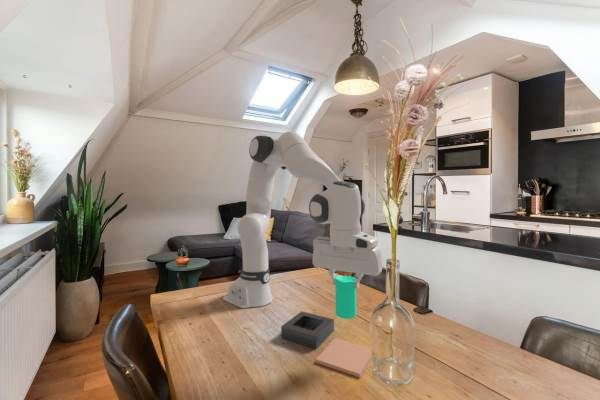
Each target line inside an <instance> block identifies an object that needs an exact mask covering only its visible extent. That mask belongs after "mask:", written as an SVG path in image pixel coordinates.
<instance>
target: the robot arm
mask: <svg viewBox="0 0 600 400" xmlns="http://www.w3.org/2000/svg"><path fill="white" fill-rule="evenodd" d="M249 144H250V145H249V148H248V151H249V156H250V158H251V160H252V164H251V167H250V171H249V174H248V181H247V188H246V194H245V195H246V196H245V198H246V212H245V215H243V216H242V217H241V218H240V219H239V222H238V224H237V232H238V234H239V240H240V245H241V252H242V268H241V269H239V270H238V272H237V273H238V274H240V275H239V277H238V278H237V279H236V280H234V281H233V282H232V283H231V284H230V285H229V287H228V293H227V294H225V295H224V296H223V298H222V300H223V301H225V302H227V303H229V304H232V305H233V306H236V307H238V308H241V309H248V308H257V307H263V306H266V305H268V304H270V303H272V301H274V300H273V299H274V298H273V295H272V290H271V285H270V273H271V272H270V267H269V249H268V245H267V236H266V232H267V231H268V230H269V228H270V223H271V215H272V214H271V213H272V212H271V211H272V200H273V193H274V187H275V180H276V179H275V178H276V173H277V170H278V169H279V168H280V169H281V170H287V172H289V174H290V175H292V176H293V177H295V178H297V179H302V180H308V181H312V182H316V183H320V184H321V185H323V186H325V188H326V190H324V191H322V192H319V193H316V194H314V195H313V196H312V197H311V199H310V202H309V203H308V204H309V205H308V212H309V216H310V218H311V219H312V220H313V221H314V222H315V223H317V224H321V225H327V224H330V225H329V236H322V235H317V236H316V237H315V238H314V239H313V241H312V242H313V243H312V245H313V246H312V247H313V250H312V251H313V252H312V265H313V266H314V268H320V269H326V270H328V273H329V274H328V275H329V276H330V277H331V279H332V285H335V278H336V277H337V276H338V275H337V274H336V273H335V272H337V271H340V272H346V273H347V272H348V273H354V274H355V278H356V281H355V282H354V281H353V282H354V288H356V290H357V289H359V288H360V281H361V280H362V279H363V277H364V275H367V276H368V275H369V276H374V277H377V276H378V275H380V274H381V273H382V271H383V259H382V253H381V250H380V248H379V247H378V244H379V238H377V236H373V235H370V234H369V233H366V232H363V231H362V226H361V221H360V220H361V218H362V217H363V215H364V213H365V207H366V205H365V201H364V198H363V197H362V195H361V191H360V188H359V186H358V184H356V183H355V182H351V181H344V179H343V178H342V177H341V176H340V175H339V174H338V172H337V171H336V170H335V169H334V167H332V166H331V165H329V163H327V162H326V161H324V160H323V159H321V158H320V157H319V155H317V154H316V153H315V152H314V150H312V149H311V148H310V146H309V144H308V143H307V141H306V140H305V139H304V138H303V137H302V136H301V135H300V134H298V133H297V132H296V131H286V132H284V133H282V134H281V135H280V136H279V138H275V137H271V136H267V135H256V136H254V138H252V139H251V141H250V142H249ZM338 279H339V278H338Z"/></svg>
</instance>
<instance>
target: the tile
mask: <svg viewBox="0 0 600 400" xmlns="http://www.w3.org/2000/svg"><path fill="white" fill-rule="evenodd" d="M372 358H373V357H372V355H371V348H370V347H367V346H364V345H361V344H357V343H352V342H351V341H347V340H343V339H339V338H333V339H332V341H331V342H330V343H329V344H328V345H327V346H326V347H325V348H324V350H323V351H322V352H321V353H320V354H319V355H318V356H317V357H316V358H315V363H316V364H320V365H322V366H325V367H328V368H330V369H334V370H336V371H340V372H343V373H345V374H349V375H352V376H354V377H357V378H361V377H362V376H363V374H364V372H365V370H366V369H367V366H368V365H369V364H370V362H371V360H372Z"/></svg>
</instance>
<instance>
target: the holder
mask: <svg viewBox="0 0 600 400" xmlns="http://www.w3.org/2000/svg"><path fill="white" fill-rule="evenodd" d="M307 328H308V329H307ZM334 332H335V319H333V318H329V317H325V316H321V315H317V314H314V313H309V312H305V311H300V312H299V313H298V314H296V315H295V316H293V317H292V318H291V319H289V320H288V321H287V322H285V323H284V324H283V325H281V332H280V333H281V334H280V335H281V339H283V340H286V341H289V342H291V343H292V342H293V343H295V344H298V345H301V346H306V347H308V348H311V349H314V350H317V349H318V348H319V347H321V345H322V344H323V343H324V342H326V340H327V339H328V338H329V337H330V336H331V335H332V334H333V333H334Z"/></svg>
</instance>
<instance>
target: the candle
mask: <svg viewBox="0 0 600 400" xmlns="http://www.w3.org/2000/svg"><path fill="white" fill-rule="evenodd" d="M336 276H337V277H336V278H335V290H334V291H335V315H336V316H337V317H338V318H340V319H344V320H349V319H350V320H351V319H353V318H355V317H356V316H357V315H358V314H357V310H358V309H357V288H354V282H355V281H356V280H357V277H356V276H355V277H354V276H351V275H348V276H347V272H346V273H345V275H336ZM338 278H339V279H338ZM353 281H354V282H353Z"/></svg>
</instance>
